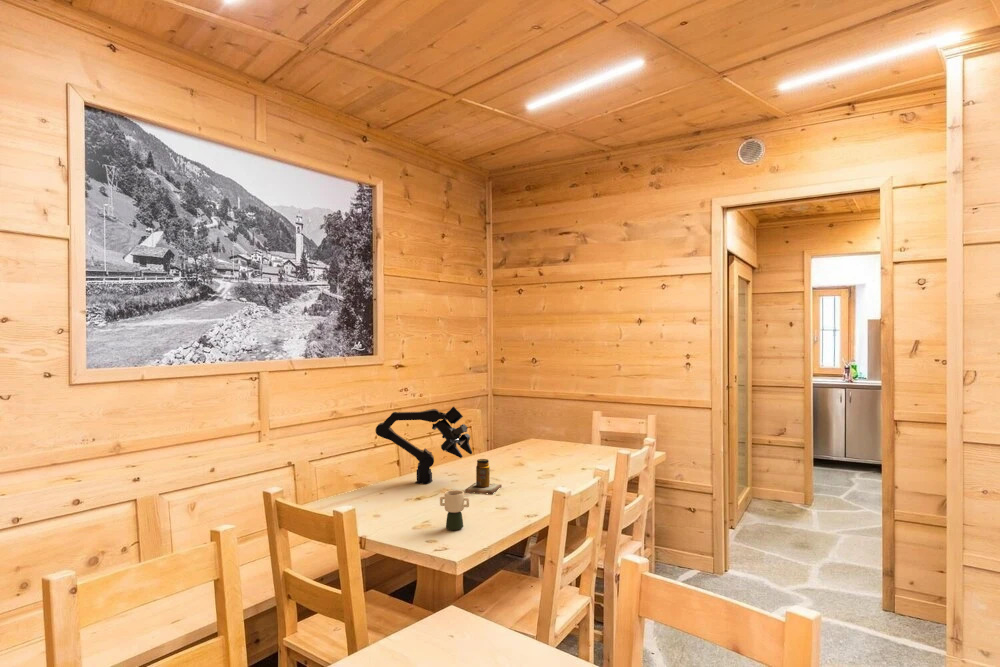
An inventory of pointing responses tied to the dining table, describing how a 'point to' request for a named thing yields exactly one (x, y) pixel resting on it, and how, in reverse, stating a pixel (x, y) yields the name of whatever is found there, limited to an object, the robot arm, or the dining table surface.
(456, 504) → the character mug
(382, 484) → the dining table surface
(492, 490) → the plinth
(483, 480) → the condiment
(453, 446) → the robot arm
